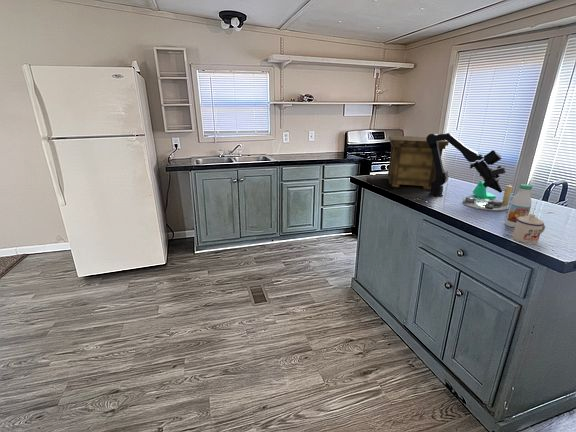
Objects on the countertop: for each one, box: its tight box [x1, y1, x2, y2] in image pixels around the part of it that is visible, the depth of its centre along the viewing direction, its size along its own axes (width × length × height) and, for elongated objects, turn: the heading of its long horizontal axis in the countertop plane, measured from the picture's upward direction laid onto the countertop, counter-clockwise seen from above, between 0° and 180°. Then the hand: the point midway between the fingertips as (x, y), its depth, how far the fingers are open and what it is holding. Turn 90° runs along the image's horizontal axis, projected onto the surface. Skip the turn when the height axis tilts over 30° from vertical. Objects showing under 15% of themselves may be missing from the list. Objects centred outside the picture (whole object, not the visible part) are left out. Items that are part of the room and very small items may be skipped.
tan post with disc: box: [483, 184, 513, 207], centre depth 167 cm, size 16×7×11 cm, turn 103°
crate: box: [387, 135, 450, 190], centre depth 218 cm, size 35×35×33 cm
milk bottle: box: [505, 183, 533, 229], centre depth 140 cm, size 8×8×20 cm
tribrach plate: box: [461, 196, 508, 212], centre depth 174 cm, size 22×22×3 cm
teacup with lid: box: [512, 213, 546, 244], centre depth 126 cm, size 12×9×12 cm
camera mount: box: [472, 181, 497, 200], centre depth 189 cm, size 12×8×10 cm, turn 0°
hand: (501, 192), depth 171 cm, fingers closed
